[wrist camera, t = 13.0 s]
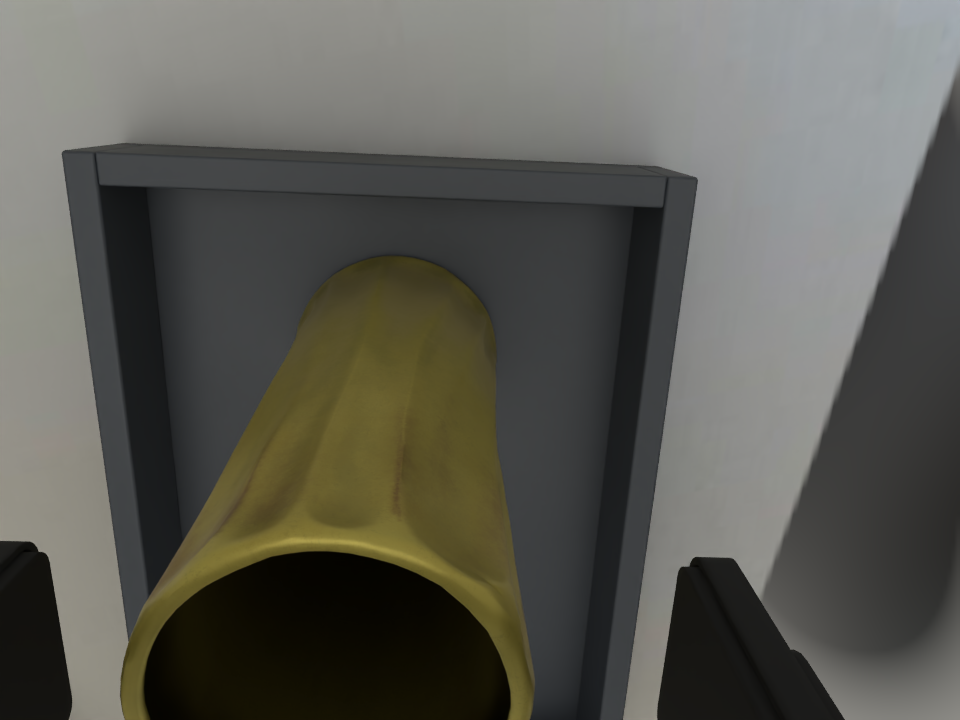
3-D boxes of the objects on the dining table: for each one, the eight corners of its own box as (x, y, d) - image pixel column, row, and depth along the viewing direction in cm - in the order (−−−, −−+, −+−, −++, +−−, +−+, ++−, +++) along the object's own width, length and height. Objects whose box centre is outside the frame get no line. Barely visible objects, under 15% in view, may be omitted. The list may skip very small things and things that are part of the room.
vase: (460, 462, 24) (482, 916, 11) (276, 411, 23) (44, 835, 10) (522, 290, 22) (643, 574, 9) (325, 226, 21) (122, 436, 8)
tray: (659, 166, 22) (699, 177, 18) (590, 730, 29) (610, 813, 25) (122, 143, 21) (59, 149, 17) (187, 731, 28) (151, 818, 25)
